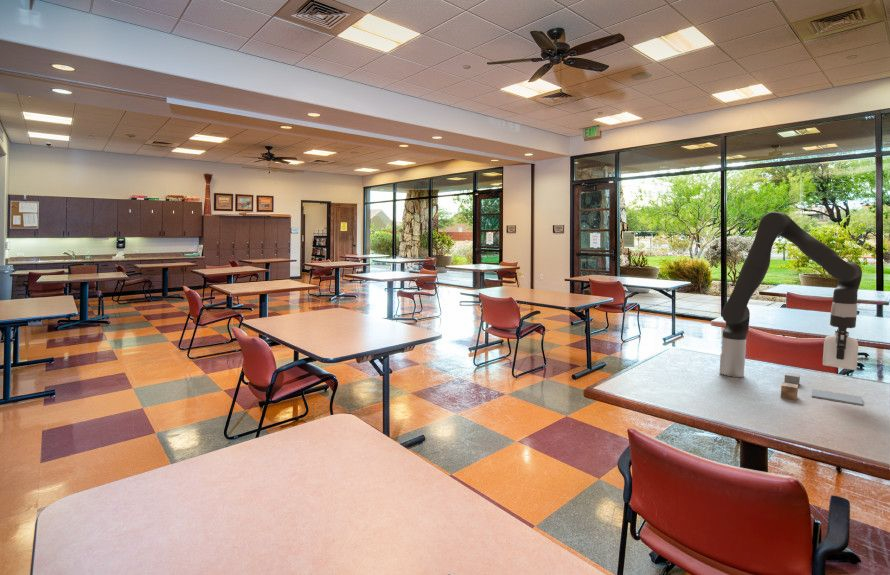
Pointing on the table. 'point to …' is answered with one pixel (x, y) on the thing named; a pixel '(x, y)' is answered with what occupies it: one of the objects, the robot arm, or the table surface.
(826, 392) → the slate mat
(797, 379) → the gray block
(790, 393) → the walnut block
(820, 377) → the table surface
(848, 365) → the photo printer
